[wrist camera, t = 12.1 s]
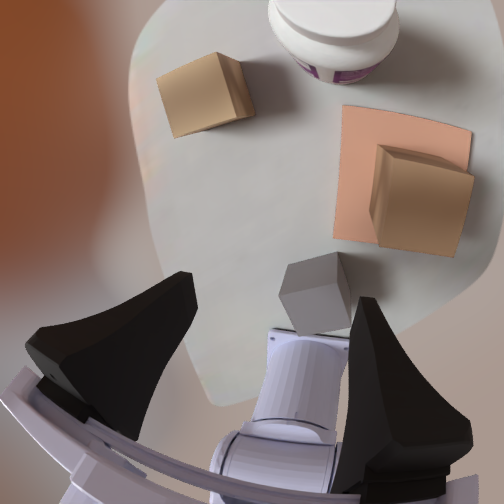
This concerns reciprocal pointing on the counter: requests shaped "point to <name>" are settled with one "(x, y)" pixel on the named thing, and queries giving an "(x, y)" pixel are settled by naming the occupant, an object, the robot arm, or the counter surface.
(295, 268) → the gray block
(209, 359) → the counter surface
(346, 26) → the pill bottle
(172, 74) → the oak block
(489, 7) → the counter surface
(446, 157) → the terracotta coaster
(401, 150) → the walnut block
